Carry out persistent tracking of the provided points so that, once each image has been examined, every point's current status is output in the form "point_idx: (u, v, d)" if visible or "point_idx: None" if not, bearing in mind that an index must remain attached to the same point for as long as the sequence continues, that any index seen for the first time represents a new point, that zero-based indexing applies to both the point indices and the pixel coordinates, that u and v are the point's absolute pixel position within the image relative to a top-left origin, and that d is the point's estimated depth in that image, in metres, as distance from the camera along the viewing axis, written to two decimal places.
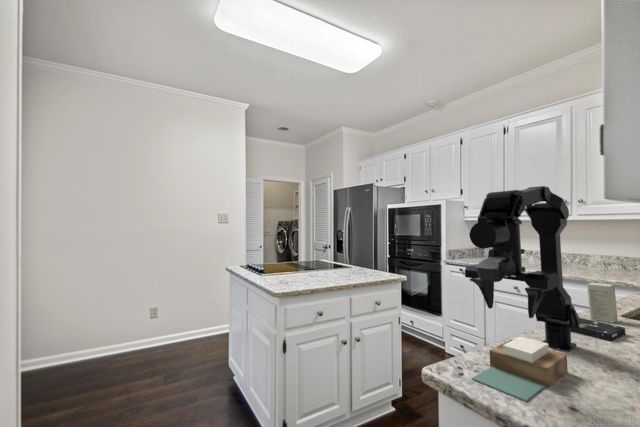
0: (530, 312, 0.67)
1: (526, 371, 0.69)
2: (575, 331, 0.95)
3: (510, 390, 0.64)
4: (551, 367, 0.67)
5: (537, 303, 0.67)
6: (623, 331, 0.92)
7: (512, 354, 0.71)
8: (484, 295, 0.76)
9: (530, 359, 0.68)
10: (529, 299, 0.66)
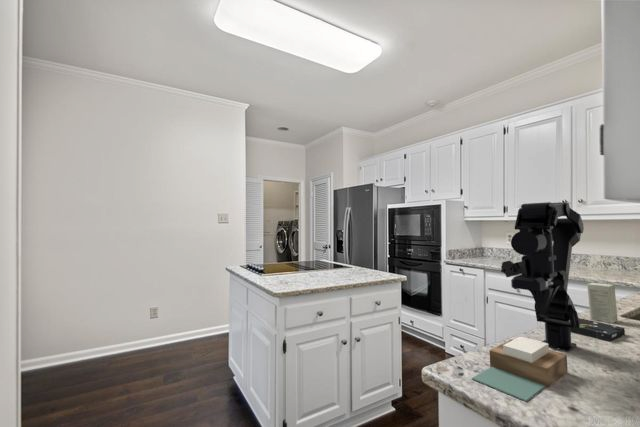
0: None
1: (526, 371, 0.69)
2: (575, 331, 0.95)
3: (510, 390, 0.64)
4: (551, 367, 0.67)
5: (541, 301, 0.78)
6: (623, 331, 0.92)
7: (512, 354, 0.71)
8: None
9: (530, 359, 0.68)
10: None
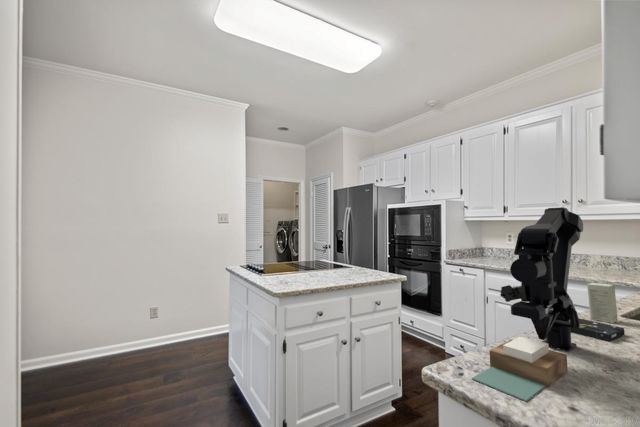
0: None
1: (526, 371, 0.69)
2: (574, 331, 0.95)
3: (510, 390, 0.64)
4: (551, 367, 0.67)
5: (541, 328, 0.77)
6: (622, 331, 0.92)
7: (512, 354, 0.71)
8: None
9: (530, 359, 0.68)
10: None
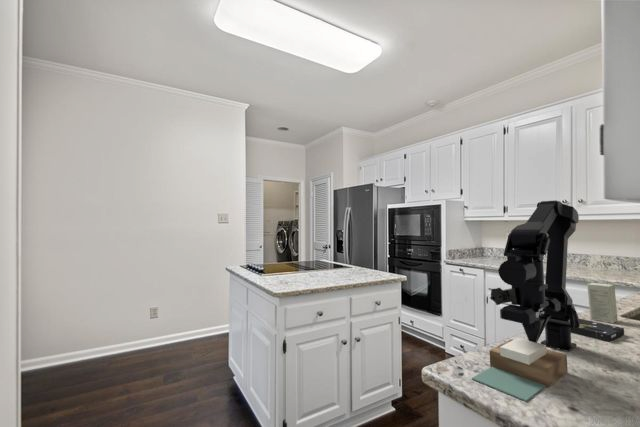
0: None
1: (526, 371, 0.69)
2: (574, 332, 0.95)
3: (510, 390, 0.64)
4: (551, 367, 0.67)
5: (532, 332, 0.74)
6: (622, 332, 0.91)
7: (509, 356, 0.71)
8: None
9: (527, 361, 0.68)
10: None
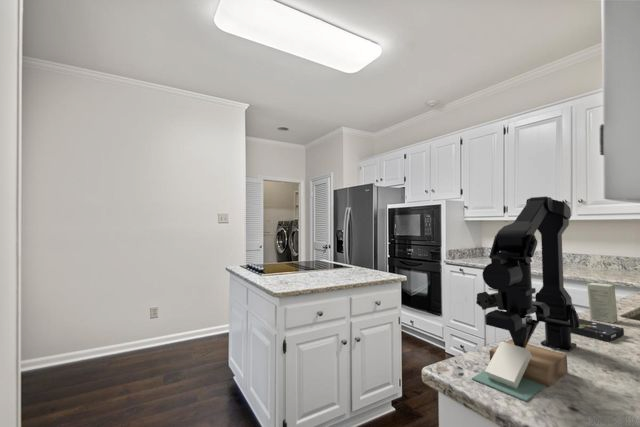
0: None
1: (526, 371, 0.69)
2: (574, 332, 0.94)
3: (510, 390, 0.64)
4: (551, 367, 0.67)
5: (519, 339, 0.70)
6: (622, 332, 0.91)
7: (496, 379, 0.68)
8: None
9: (514, 386, 0.65)
10: None
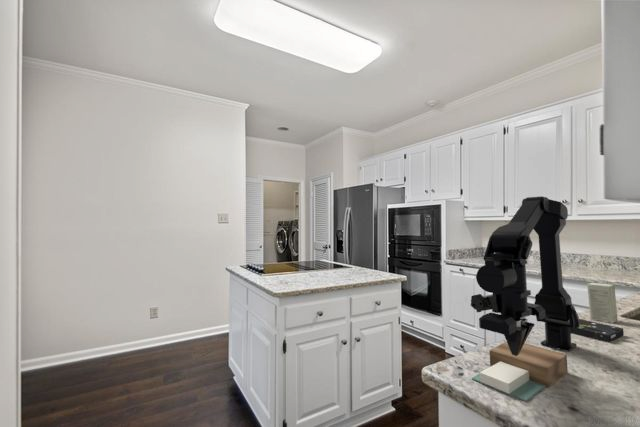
0: None
1: None
2: (573, 332, 0.94)
3: None
4: (551, 367, 0.67)
5: (514, 342, 0.69)
6: (621, 332, 0.91)
7: (489, 383, 0.66)
8: None
9: (507, 389, 0.63)
10: None
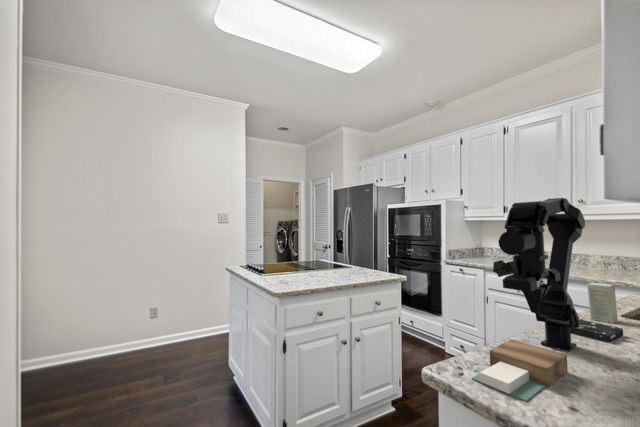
0: None
1: None
2: (573, 332, 0.94)
3: None
4: (551, 367, 0.67)
5: (533, 301, 0.77)
6: (621, 332, 0.91)
7: (489, 383, 0.66)
8: None
9: (507, 389, 0.63)
10: None
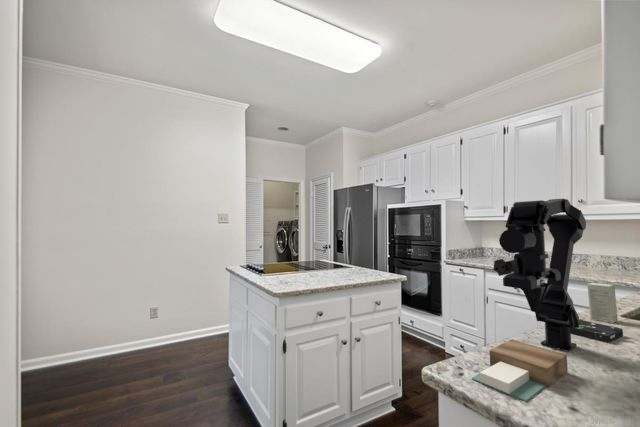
0: None
1: None
2: (573, 332, 0.94)
3: None
4: (551, 367, 0.67)
5: (533, 299, 0.78)
6: (621, 332, 0.91)
7: (489, 383, 0.66)
8: None
9: (507, 389, 0.63)
10: None
